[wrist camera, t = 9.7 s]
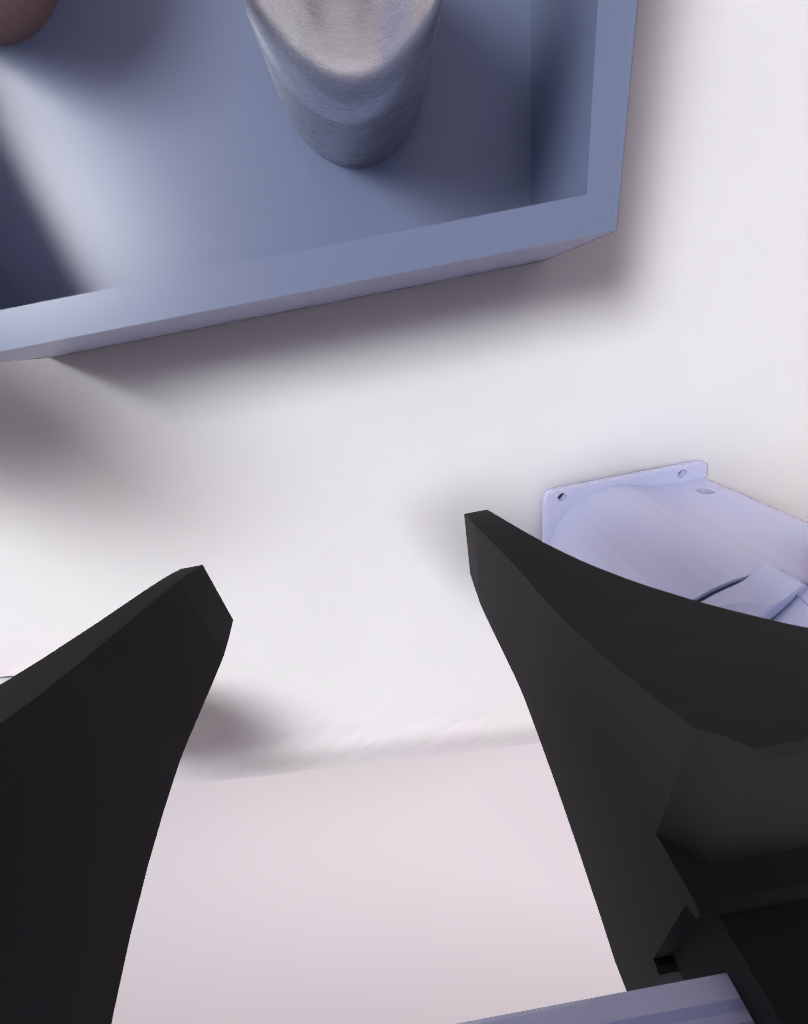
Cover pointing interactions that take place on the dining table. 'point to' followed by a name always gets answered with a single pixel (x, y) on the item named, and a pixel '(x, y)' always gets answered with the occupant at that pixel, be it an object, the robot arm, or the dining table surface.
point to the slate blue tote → (286, 167)
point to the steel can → (348, 70)
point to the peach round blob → (23, 19)
